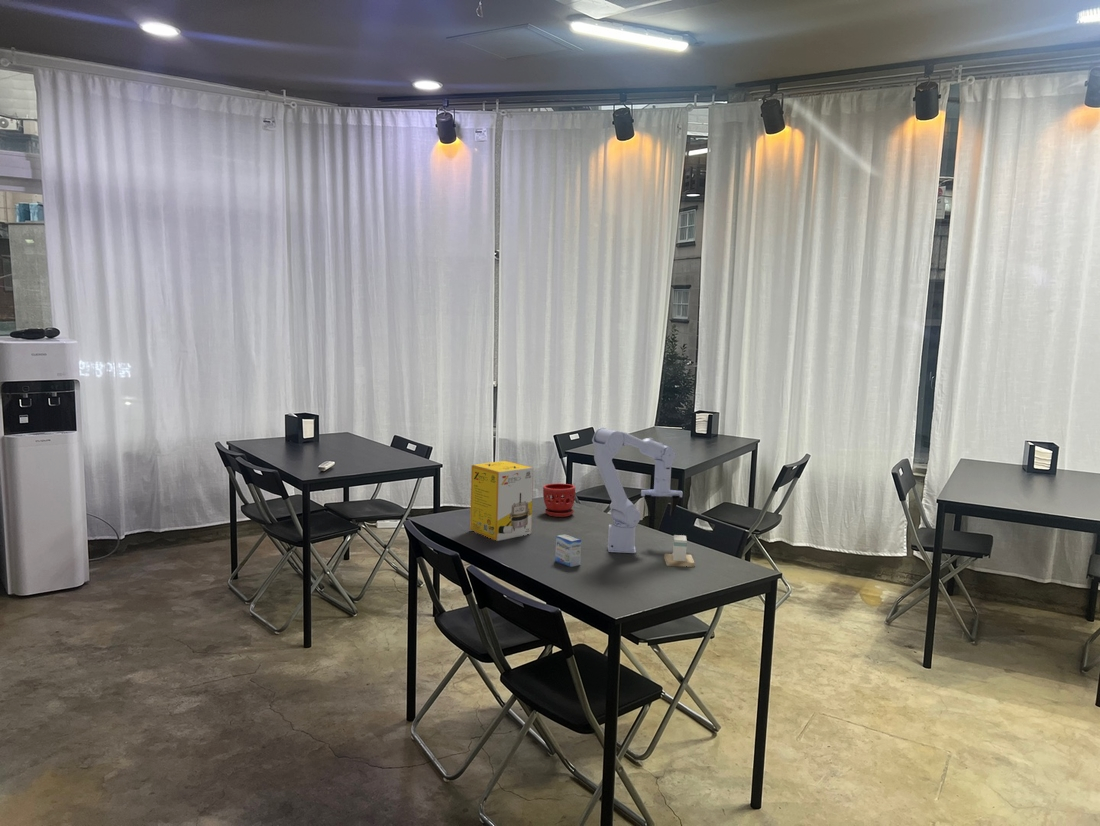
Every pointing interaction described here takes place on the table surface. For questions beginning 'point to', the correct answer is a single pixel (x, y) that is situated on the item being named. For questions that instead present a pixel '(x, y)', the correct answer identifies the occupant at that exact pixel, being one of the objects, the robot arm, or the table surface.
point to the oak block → (671, 562)
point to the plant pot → (559, 499)
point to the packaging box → (501, 499)
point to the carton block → (679, 548)
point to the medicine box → (568, 550)
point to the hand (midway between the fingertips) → (660, 516)
